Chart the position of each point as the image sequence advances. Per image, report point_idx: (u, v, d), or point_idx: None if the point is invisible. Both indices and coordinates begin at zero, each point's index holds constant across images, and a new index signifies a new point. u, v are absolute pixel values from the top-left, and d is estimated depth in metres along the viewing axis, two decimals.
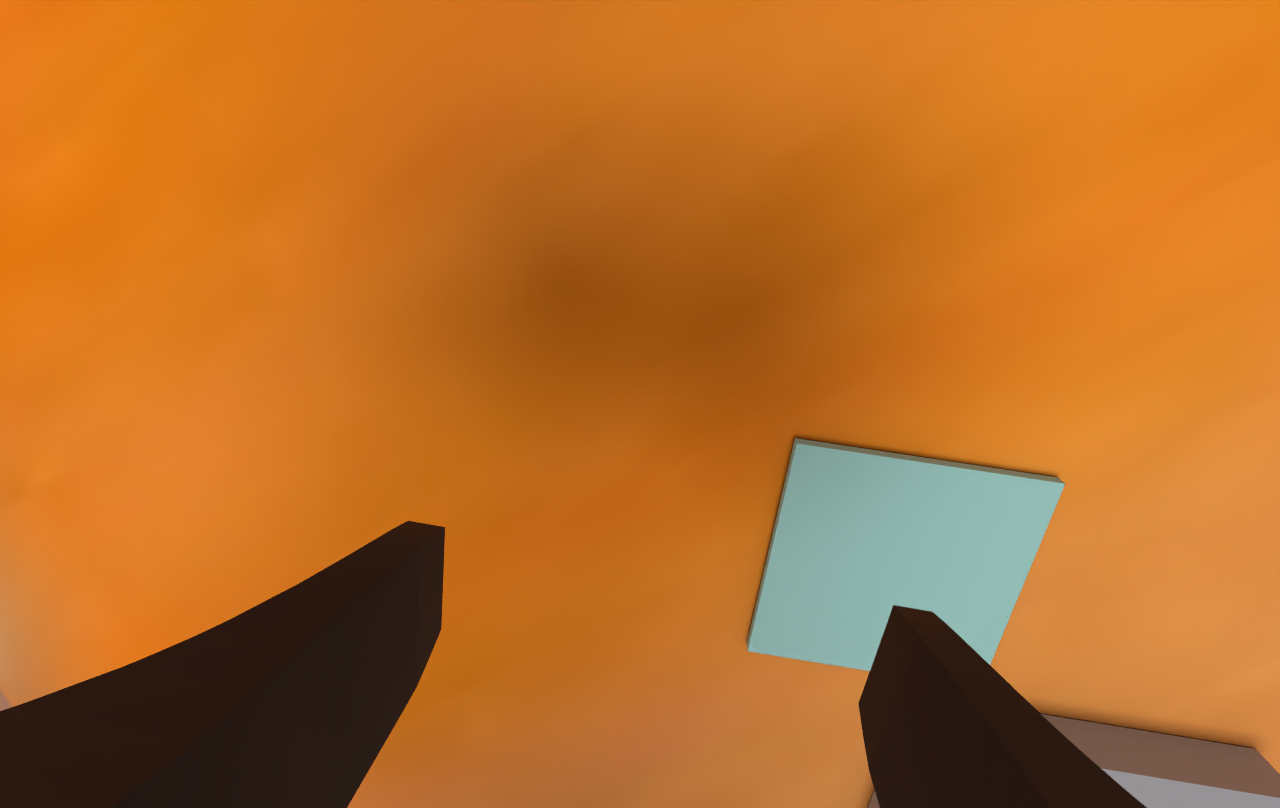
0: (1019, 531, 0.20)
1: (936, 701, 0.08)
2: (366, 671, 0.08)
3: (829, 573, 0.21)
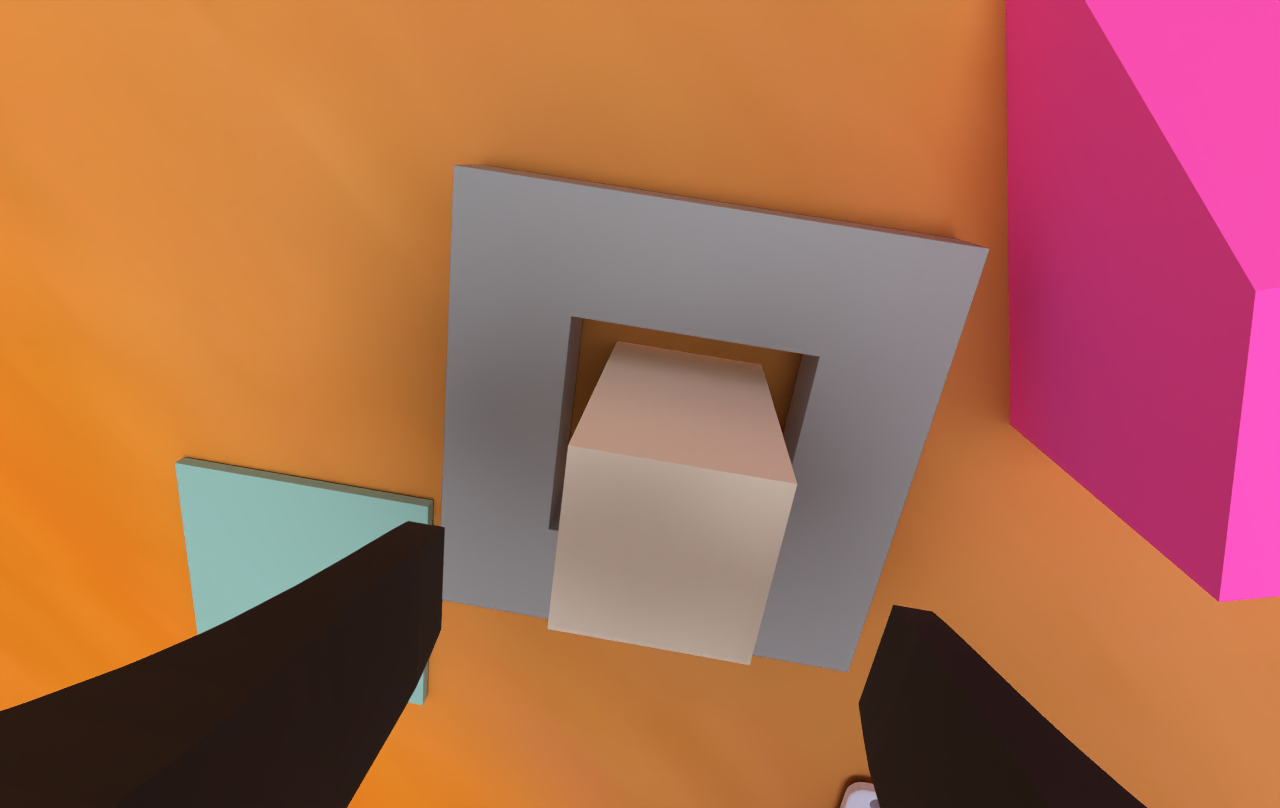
0: (233, 493, 0.20)
1: (936, 701, 0.08)
2: (366, 671, 0.08)
3: None
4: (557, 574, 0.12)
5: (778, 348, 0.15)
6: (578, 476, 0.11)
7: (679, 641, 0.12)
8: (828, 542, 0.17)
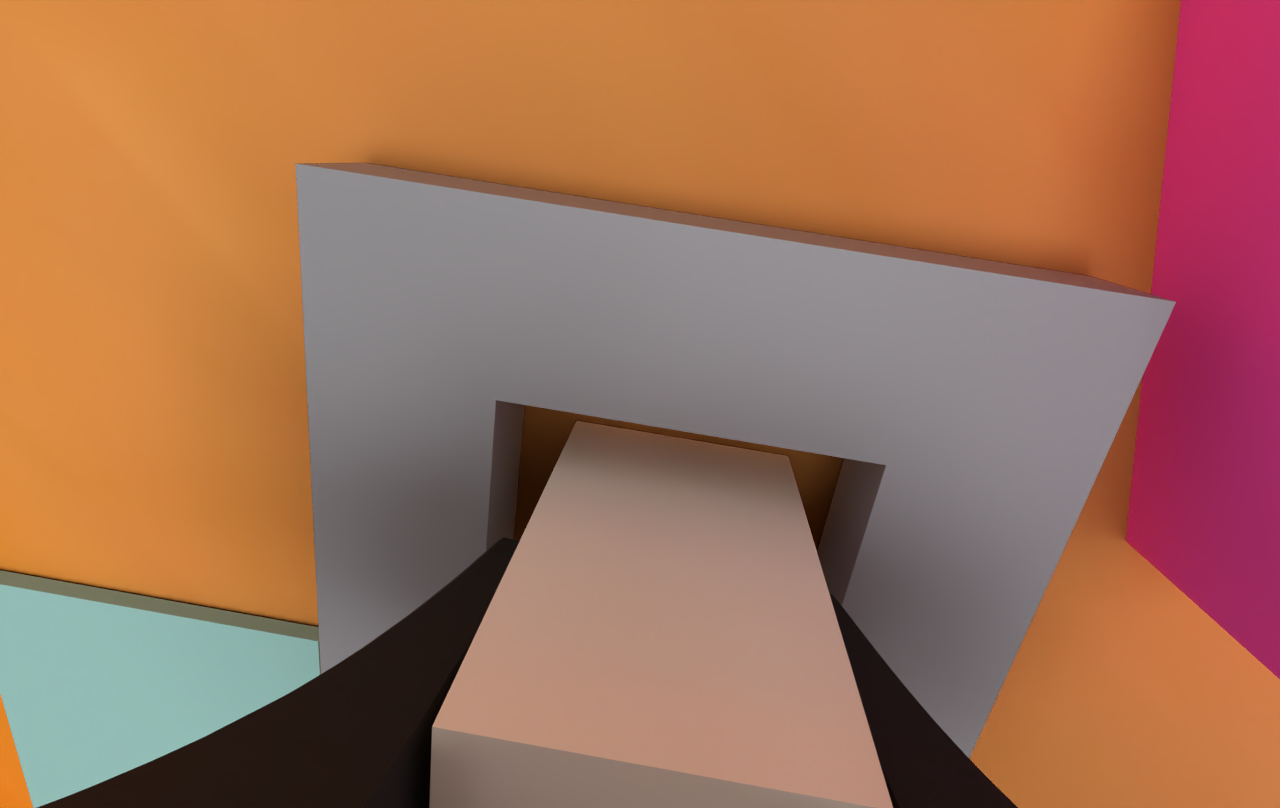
0: (51, 618, 0.14)
1: None
2: None
3: None
4: None
5: (821, 450, 0.10)
6: (455, 778, 0.06)
7: None
8: None
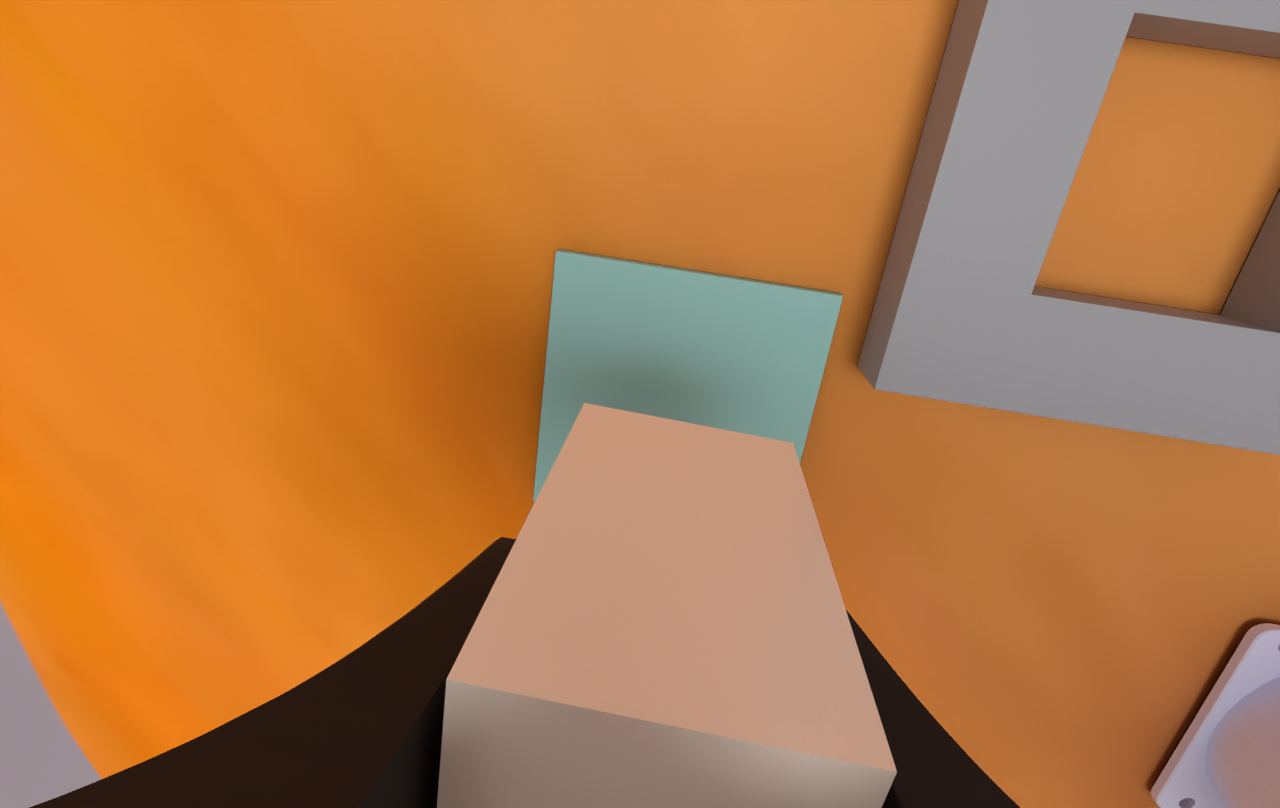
0: (616, 287, 0.18)
1: None
2: None
3: None
4: None
5: None
6: (467, 733, 0.06)
7: None
8: None
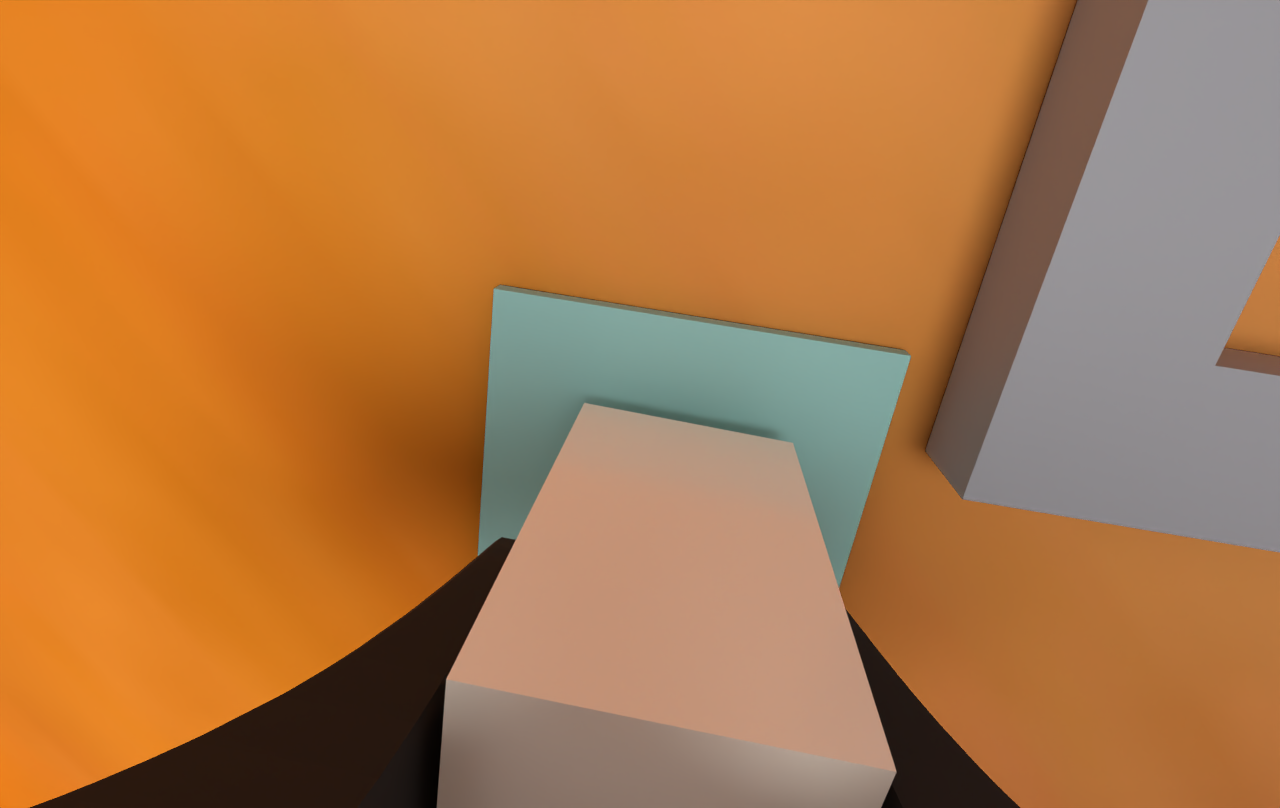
0: (581, 340, 0.13)
1: None
2: None
3: None
4: None
5: None
6: (468, 732, 0.06)
7: None
8: None
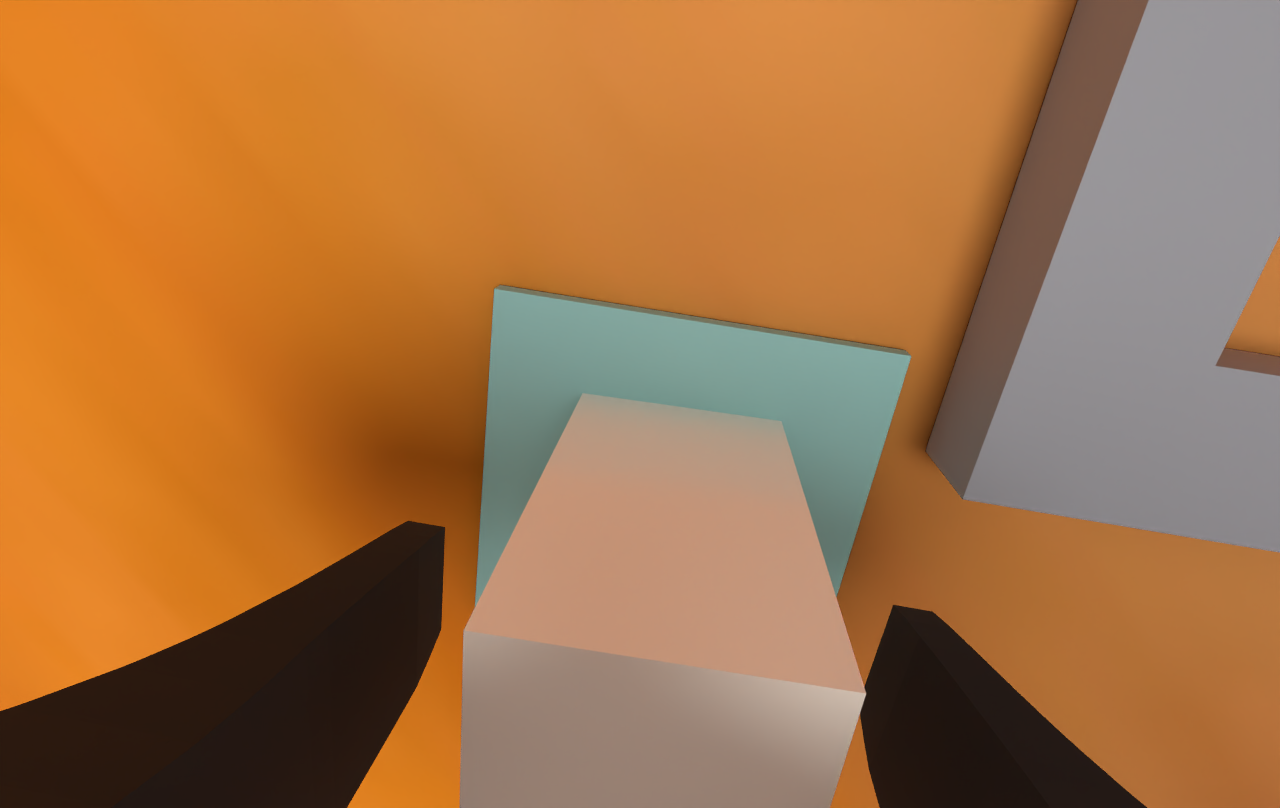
0: (582, 340, 0.13)
1: (936, 701, 0.08)
2: (366, 671, 0.08)
3: None
4: None
5: None
6: (485, 678, 0.07)
7: None
8: None
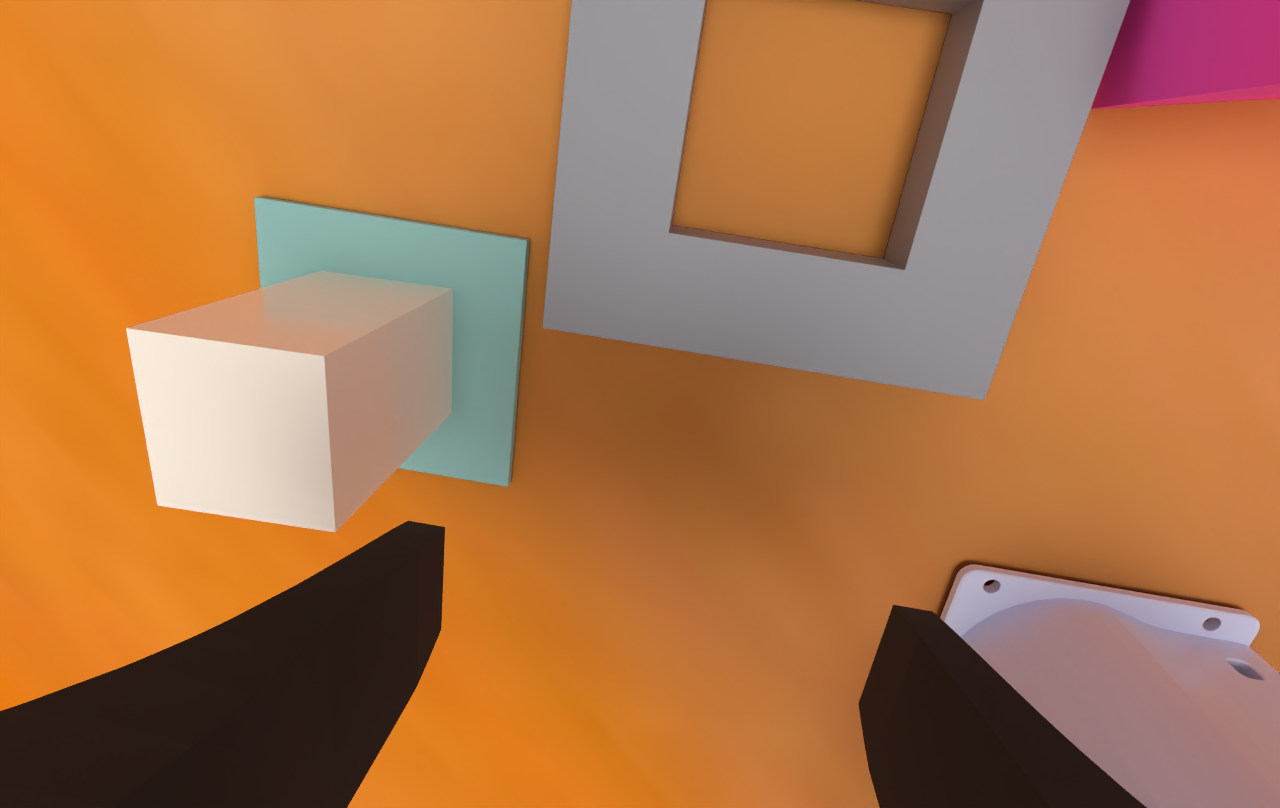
0: (315, 232, 0.19)
1: (936, 701, 0.08)
2: (366, 670, 0.08)
3: None
4: (150, 451, 0.14)
5: None
6: (142, 357, 0.13)
7: (270, 512, 0.14)
8: (976, 235, 0.16)
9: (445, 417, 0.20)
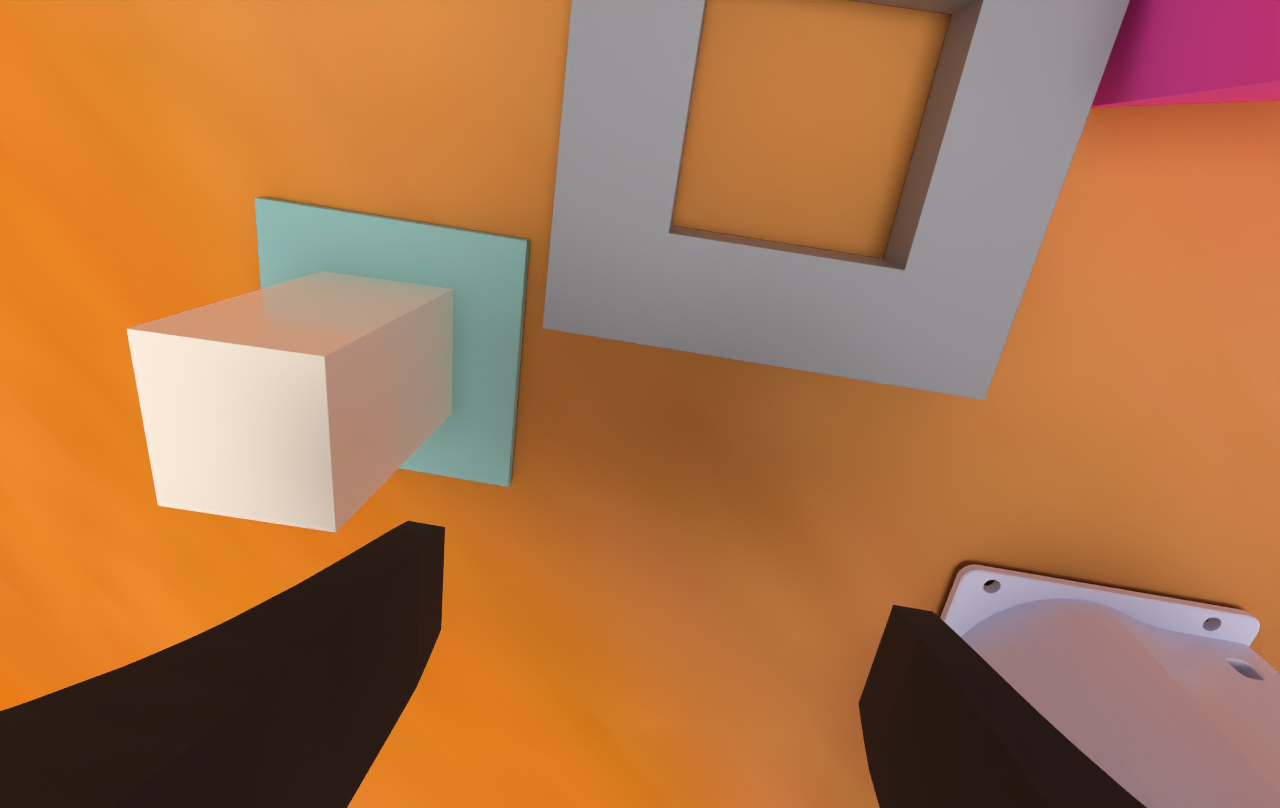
0: (316, 233, 0.19)
1: (936, 701, 0.08)
2: (367, 671, 0.08)
3: None
4: (150, 452, 0.14)
5: None
6: (143, 357, 0.13)
7: (271, 512, 0.14)
8: (976, 235, 0.16)
9: (445, 417, 0.20)
